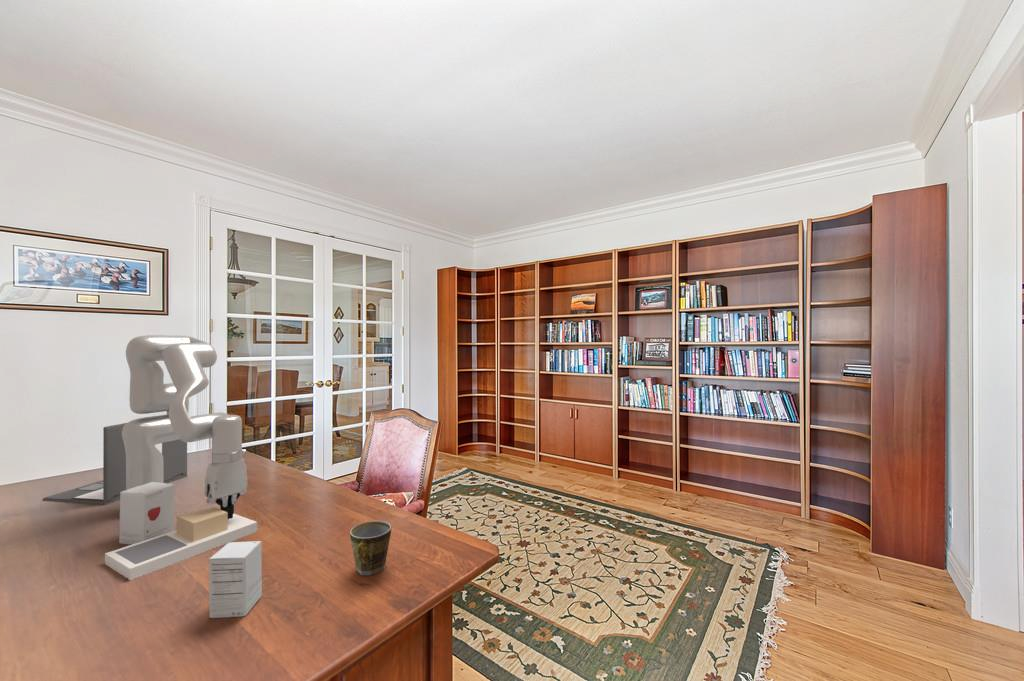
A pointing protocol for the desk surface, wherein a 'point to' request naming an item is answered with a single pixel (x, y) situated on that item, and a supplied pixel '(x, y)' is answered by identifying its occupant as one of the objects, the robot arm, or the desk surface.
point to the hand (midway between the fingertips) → (227, 517)
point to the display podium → (172, 549)
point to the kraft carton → (201, 523)
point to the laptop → (123, 470)
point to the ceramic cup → (370, 546)
